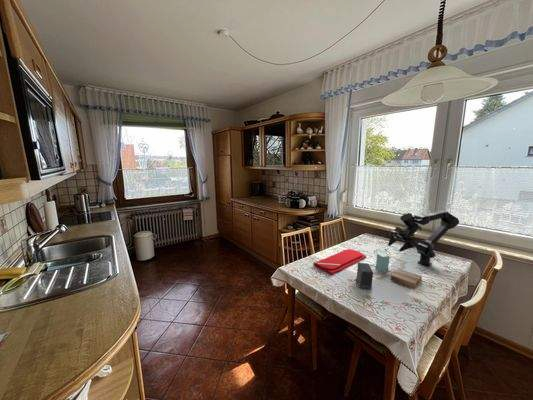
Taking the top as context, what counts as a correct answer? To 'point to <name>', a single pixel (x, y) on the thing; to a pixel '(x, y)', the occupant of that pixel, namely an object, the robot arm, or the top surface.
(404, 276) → the walnut base
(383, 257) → the teal block
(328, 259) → the dish drying mat
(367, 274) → the small box
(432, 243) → the robot arm
